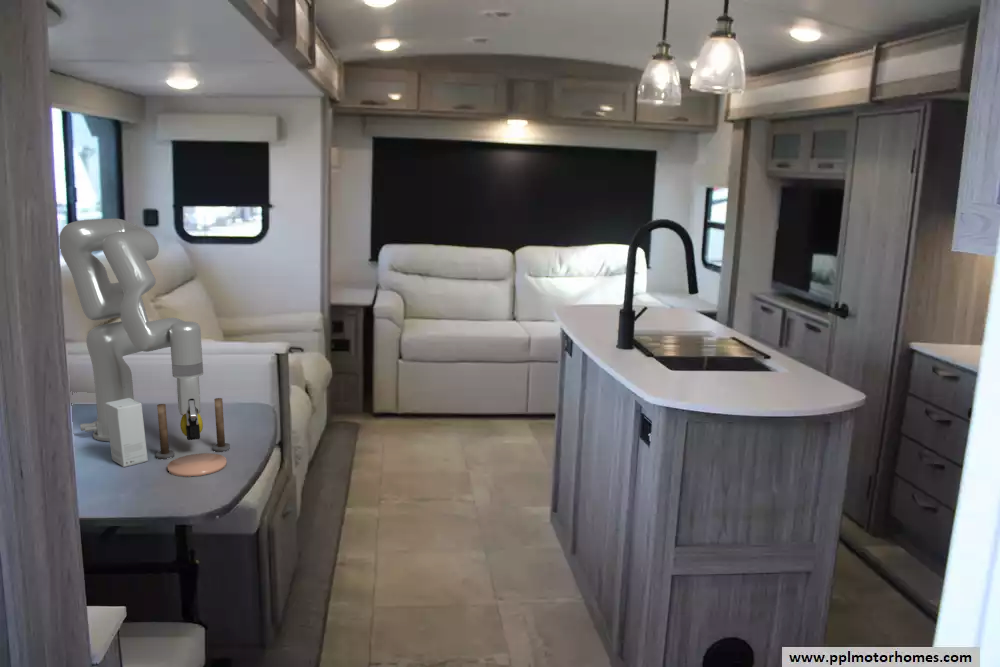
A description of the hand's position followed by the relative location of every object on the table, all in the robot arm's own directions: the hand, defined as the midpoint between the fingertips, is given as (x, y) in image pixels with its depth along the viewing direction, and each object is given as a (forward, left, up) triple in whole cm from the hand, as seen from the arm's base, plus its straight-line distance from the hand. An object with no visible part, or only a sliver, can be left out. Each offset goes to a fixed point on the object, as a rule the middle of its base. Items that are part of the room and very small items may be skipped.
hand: (192, 435), depth 217 cm
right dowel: (+7, -1, -5) cm, 8 cm away
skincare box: (-16, -1, -5) cm, 16 cm away
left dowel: (-7, -1, -5) cm, 9 cm away
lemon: (0, 0, -1) cm, 1 cm away
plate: (0, -12, -5) cm, 13 cm away
